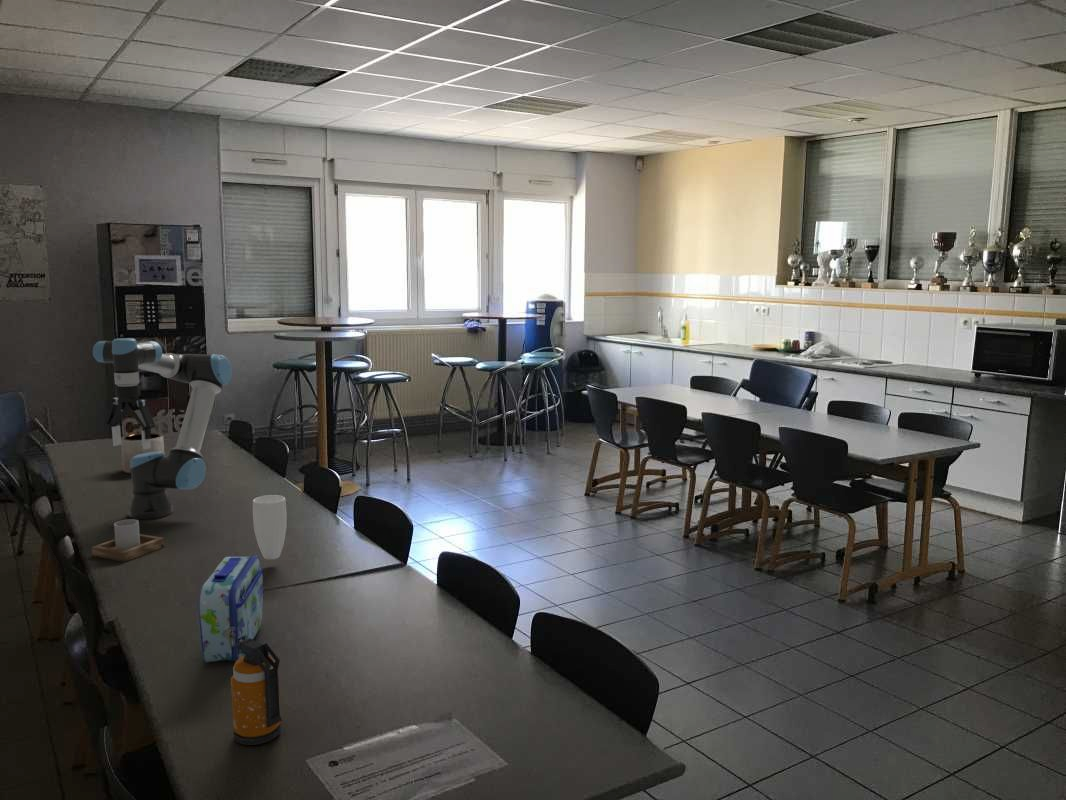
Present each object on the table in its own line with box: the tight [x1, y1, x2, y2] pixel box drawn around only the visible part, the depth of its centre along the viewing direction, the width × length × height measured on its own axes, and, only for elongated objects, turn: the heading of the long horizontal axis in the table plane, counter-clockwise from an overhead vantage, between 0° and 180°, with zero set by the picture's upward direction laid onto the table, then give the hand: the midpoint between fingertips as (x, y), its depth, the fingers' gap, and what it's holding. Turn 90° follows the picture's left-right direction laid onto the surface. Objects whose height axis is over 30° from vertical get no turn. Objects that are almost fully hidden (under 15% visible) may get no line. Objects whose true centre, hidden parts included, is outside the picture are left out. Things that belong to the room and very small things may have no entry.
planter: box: [120, 432, 166, 475], centre depth 384 cm, size 18×18×16 cm
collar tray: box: [91, 533, 165, 563], centre depth 277 cm, size 16×14×3 cm
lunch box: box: [198, 554, 264, 663], centre depth 208 cm, size 26×11×21 cm, turn 5°
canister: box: [230, 638, 283, 746], centre depth 168 cm, size 9×11×20 cm
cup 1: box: [113, 518, 141, 551], centre depth 277 cm, size 7×10×9 cm
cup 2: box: [252, 494, 288, 560], centre depth 263 cm, size 10×10×22 cm
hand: (131, 446), depth 287 cm, fingers open, 13 cm apart
